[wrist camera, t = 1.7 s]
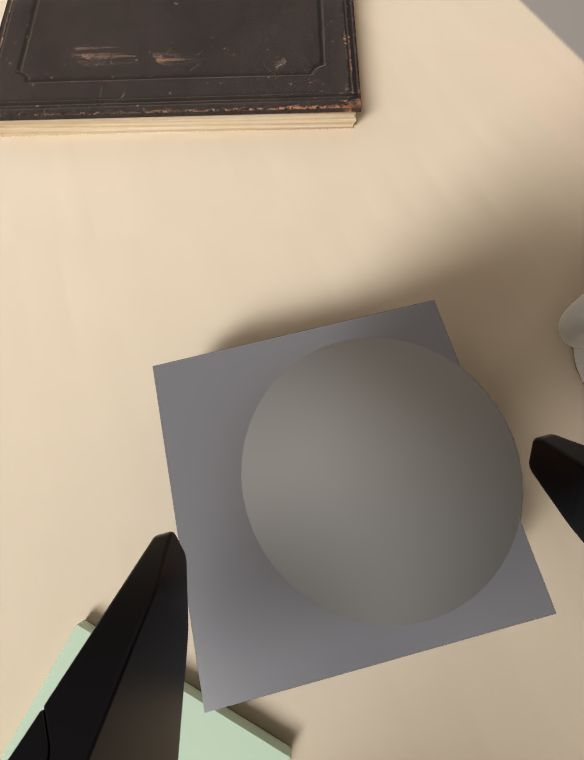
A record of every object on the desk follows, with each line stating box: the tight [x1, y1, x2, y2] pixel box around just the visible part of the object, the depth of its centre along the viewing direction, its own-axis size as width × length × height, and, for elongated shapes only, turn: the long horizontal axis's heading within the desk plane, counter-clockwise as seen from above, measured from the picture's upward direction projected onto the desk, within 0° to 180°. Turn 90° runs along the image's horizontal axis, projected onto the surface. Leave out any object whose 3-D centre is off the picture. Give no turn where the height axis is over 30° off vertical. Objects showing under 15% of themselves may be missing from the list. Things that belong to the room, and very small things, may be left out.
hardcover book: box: [0, 0, 361, 137], centre depth 25 cm, size 16×23×2 cm
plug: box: [241, 338, 523, 626], centre depth 12 cm, size 5×5×12 cm
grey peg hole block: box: [153, 300, 556, 713], centre depth 16 cm, size 12×12×4 cm
